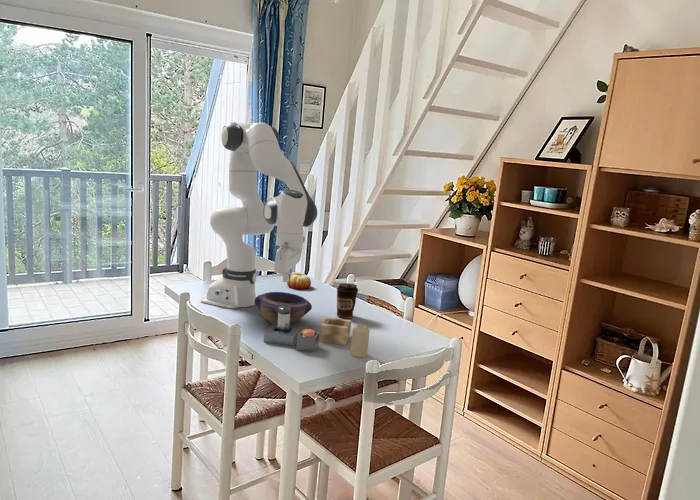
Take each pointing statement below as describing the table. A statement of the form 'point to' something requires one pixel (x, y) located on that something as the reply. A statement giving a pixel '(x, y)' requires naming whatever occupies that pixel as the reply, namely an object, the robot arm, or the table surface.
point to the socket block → (282, 335)
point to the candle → (360, 341)
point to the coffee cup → (346, 299)
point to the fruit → (299, 281)
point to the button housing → (307, 342)
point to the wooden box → (335, 331)
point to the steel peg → (283, 319)
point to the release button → (308, 333)
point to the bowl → (274, 300)
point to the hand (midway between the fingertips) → (286, 280)
